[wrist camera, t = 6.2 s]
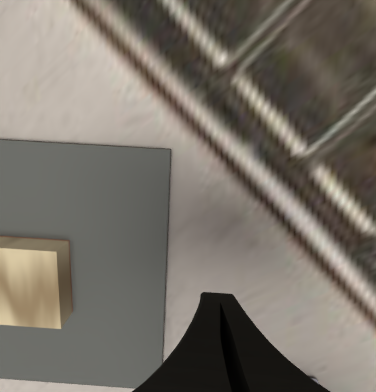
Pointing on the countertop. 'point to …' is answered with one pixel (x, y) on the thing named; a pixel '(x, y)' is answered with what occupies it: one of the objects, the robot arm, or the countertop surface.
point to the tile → (35, 282)
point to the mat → (91, 258)
